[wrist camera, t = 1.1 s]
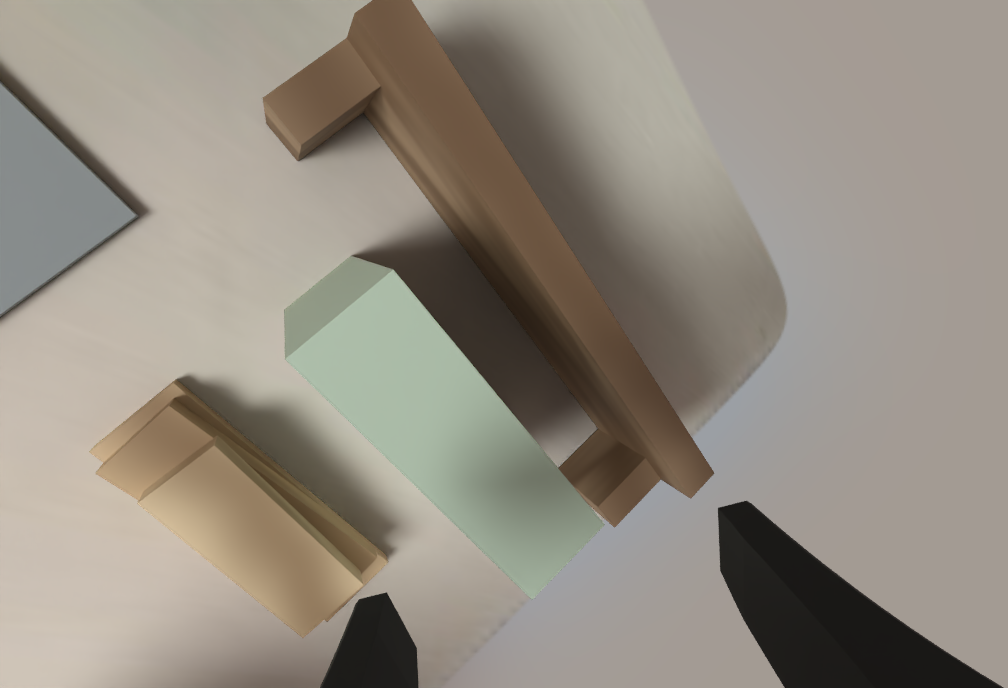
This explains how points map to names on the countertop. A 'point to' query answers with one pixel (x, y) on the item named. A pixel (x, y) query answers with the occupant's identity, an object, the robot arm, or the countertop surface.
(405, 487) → the countertop surface
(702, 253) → the countertop surface
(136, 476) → the offcut stack
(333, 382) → the tall sage green prism
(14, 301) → the slate mat
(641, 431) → the walnut rack
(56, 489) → the countertop surface
